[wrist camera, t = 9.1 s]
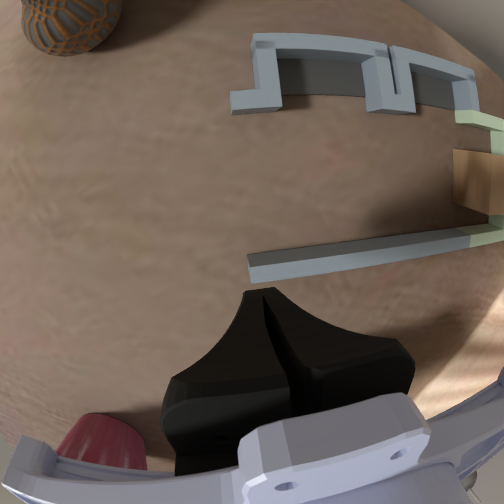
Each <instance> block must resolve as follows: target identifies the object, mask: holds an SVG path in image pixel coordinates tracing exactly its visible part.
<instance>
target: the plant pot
mask: <svg viewBox="0 0 504 504" xmlns="http://www.w3.org/2000/svg"><path fill="white" fill-rule="evenodd" d="M55 452H56V453H57V455H58V456H62V457H66V458H70V459H74V460H79V461H83V462H88V463H94V464H99V465H105V466H111V467H118V468H126V469H135V470H146V471H147V463H146V455H145V443H144V440H143V438H142V436H141V435H140V434H139V433H138V432H137V431H136V430H135V429H134V428H132V427H131V426H129V425H128V424H126V423H124V422H122V421H120V420H118V419H115V418H113V417H110V416H107V415H103V414H86V415H83V416H82V417H81V418H80V419H79V420H78V422H77V423H76V424H75V426H74V427H73V428H72V429H71V430H70V432H69V433H68V434H67V436H66V437H65V438H64V440H63V441H62V442H61V444H60V445H59V446H58V448H57V449H56V451H55Z"/></svg>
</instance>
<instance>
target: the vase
mask: <svg viewBox="0 0 504 504" xmlns="http://www.w3.org/2000/svg"><path fill="white" fill-rule="evenodd" d="M21 1H22V5H23V6H22V29H23V32H24V34H25V36H26V38H27V39H28V41H29V42H30V43H31V44H32V45H33V46H34V47H35V48H36V49H38V50H40V51H42V52H44V53H46V54H49V55H53V56H74V55H78V54H82V53H84V52H87V51H89V50H91V49H93V48H94V47H96V46H97V45H99V44H100V43H101V42H102V41H104V40H105V39H106V38H107V37H108V36H109V34H110V33H111V32H112V31H113V29H114V28H115V26H116V25H117V23H118V21H119V18H120V15H121V11H122V0H21Z"/></svg>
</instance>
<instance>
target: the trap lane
mask: <svg viewBox="0 0 504 504" xmlns="http://www.w3.org/2000/svg"><path fill="white" fill-rule="evenodd" d="M250 47H251V55H252V64H253V72H254V81H255V89H254V90H241V91H231V92H230V107H231V115H239V114H250V113H263V112H276V111H277V110H278V109H280V108H281V107H282V98H281V95H340V96H357V97H365V101H366V109H367V112H374V113H386V114H397V115H400V114H408V113H416V108H415V103H418V104H424V105H430V106H435V107H440V108H445V109H450V110H455V119H456V123H458V124H463V125H468V126H472V127H477V128H481V129H485V130H489V131H490V135H491V154H495V155H500V156H504V120H503V119H500V118H497V117H494V116H491V115H488V114H485V113H481V112H480V109H479V101H478V94H477V87H476V81H475V76H474V70H471V69H469V68H466V67H464V66H461V65H458V64H456V63H453V62H450V61H447V60H444V59H441V58H438V57H435V56H432V55H428V54H425V53H421V52H418V51H414V50H410V49H406V48H402V47H398V46H391V47H389V48H387V45H386V44H384V43H379V42H373V41H368V40H362V39H355V38H348V37H339V36H330V35H318V34H301V33H254V35H253V38H252V42H251V46H250ZM503 240H504V214H503V215H489V220H488V223H487V224H480V225H472V226H464V227H457V228H449V229H442V230H434V231H426V232H419V233H411V234H403V235H396V236H388V237H380V238H373V239H365V240H357V241H349V242H342V243H334V244H326V245H318V246H311V247H303V248H295V249H287V250H279V251H272V252H264V253H256V254H248V255H247V261H248V270H249V275H250V279H251V284H253V283H261V282H268V281H275V280H282V279H289V278H296V277H303V276H310V275H317V274H323V273H330V272H336V271H343V270H349V269H355V268H361V267H367V266H373V265H379V264H385V263H391V262H396V261H402V260H408V259H413V258H419V257H424V256H429V255H435V254H440V253H445V252H450V251H455V250H460V249H465V248H470V247H475V246H480V245H485V244H489V243H494V242H499V241H503Z"/></svg>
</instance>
